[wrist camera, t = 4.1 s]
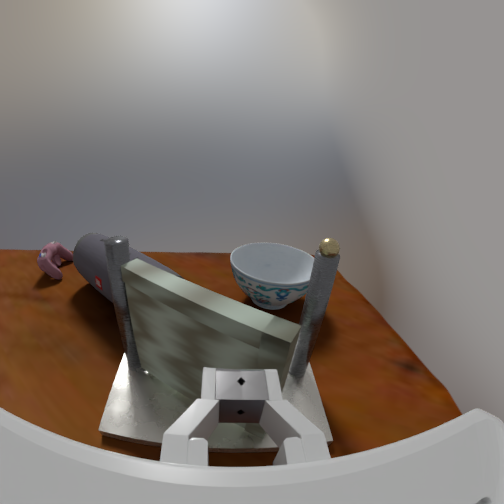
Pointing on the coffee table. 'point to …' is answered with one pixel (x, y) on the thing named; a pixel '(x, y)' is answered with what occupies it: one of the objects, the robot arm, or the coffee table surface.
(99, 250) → the bluetooth speaker
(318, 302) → the gate frame
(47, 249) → the video game controller
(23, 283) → the coffee table surface
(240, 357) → the gate
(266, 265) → the chinaware
